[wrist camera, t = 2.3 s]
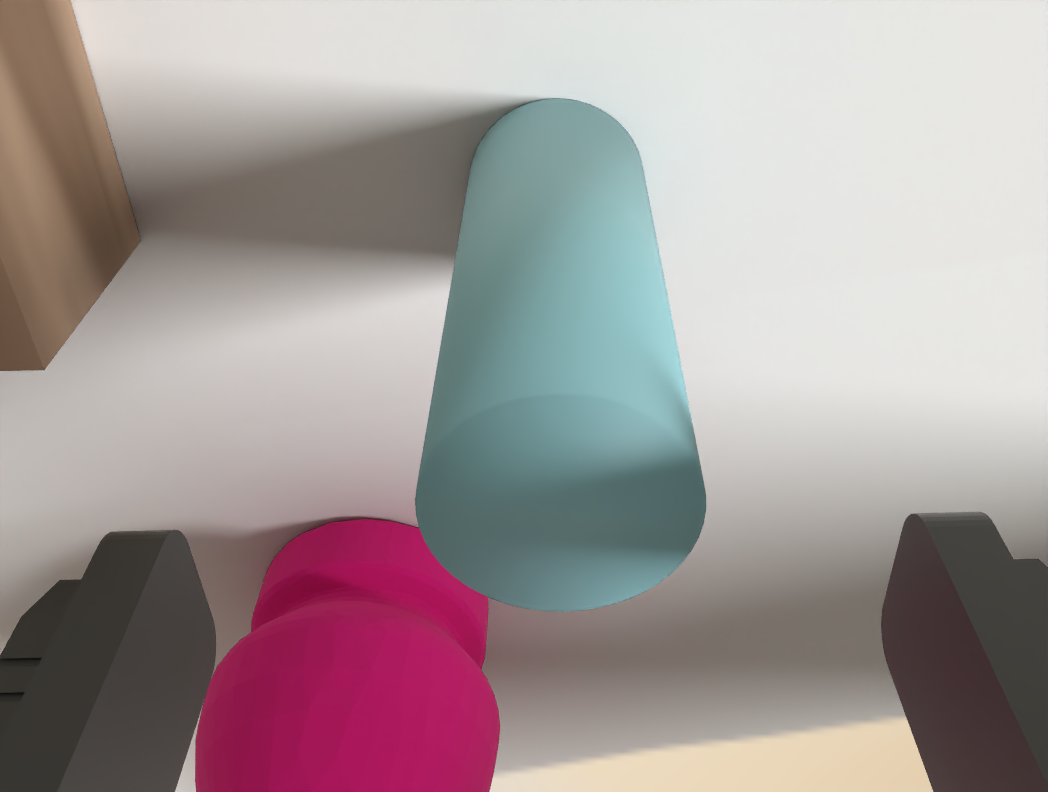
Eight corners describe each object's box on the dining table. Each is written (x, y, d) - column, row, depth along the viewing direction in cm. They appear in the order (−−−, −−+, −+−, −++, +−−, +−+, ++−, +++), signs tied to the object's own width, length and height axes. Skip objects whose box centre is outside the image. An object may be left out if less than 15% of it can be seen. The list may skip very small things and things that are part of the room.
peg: (646, 95, 19) (716, 390, 11) (641, 260, 21) (697, 610, 13) (462, 101, 19) (399, 396, 11) (475, 264, 22) (430, 613, 13)
